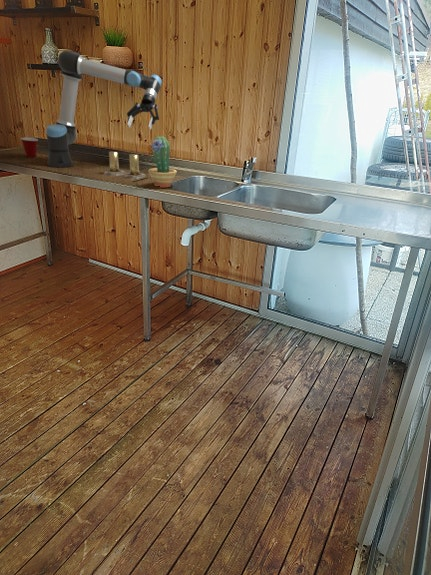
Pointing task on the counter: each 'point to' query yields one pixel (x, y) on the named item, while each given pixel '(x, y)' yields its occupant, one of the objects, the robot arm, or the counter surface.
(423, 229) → the counter surface
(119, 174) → the pallet
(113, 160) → the cylinder
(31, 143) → the plastic cup
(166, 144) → the potted cactus
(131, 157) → the brass billet
